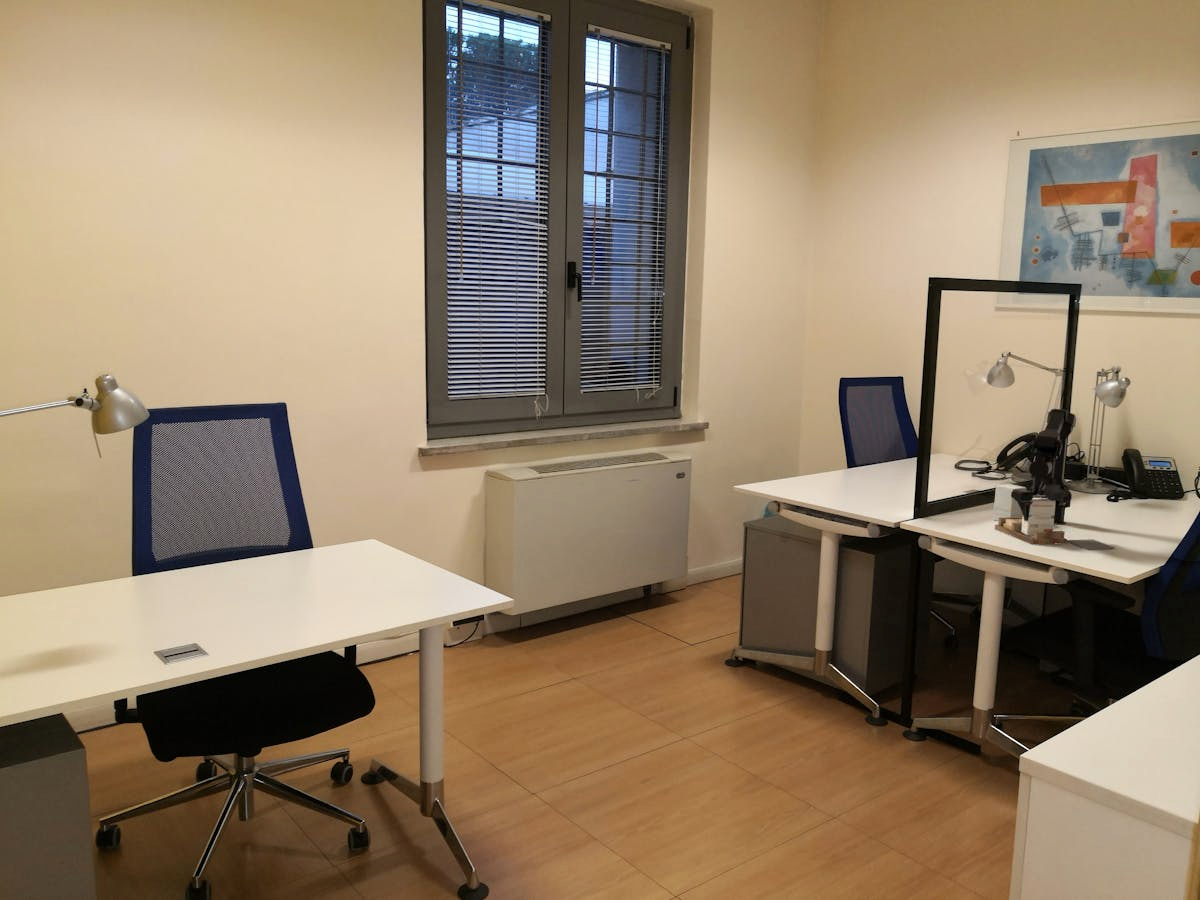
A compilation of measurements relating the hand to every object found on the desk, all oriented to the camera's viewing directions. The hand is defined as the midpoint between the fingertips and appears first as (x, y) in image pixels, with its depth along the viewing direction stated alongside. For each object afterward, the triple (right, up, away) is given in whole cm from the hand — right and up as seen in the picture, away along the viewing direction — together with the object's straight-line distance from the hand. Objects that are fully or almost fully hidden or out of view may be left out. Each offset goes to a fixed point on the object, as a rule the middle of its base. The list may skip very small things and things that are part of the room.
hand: (1038, 520), depth 319 cm
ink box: (0, -5, +1) cm, 5 cm away
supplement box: (0, -2, +25) cm, 26 cm away
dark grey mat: (+14, -8, -5) cm, 17 cm away
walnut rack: (-1, -6, +5) cm, 7 cm away
